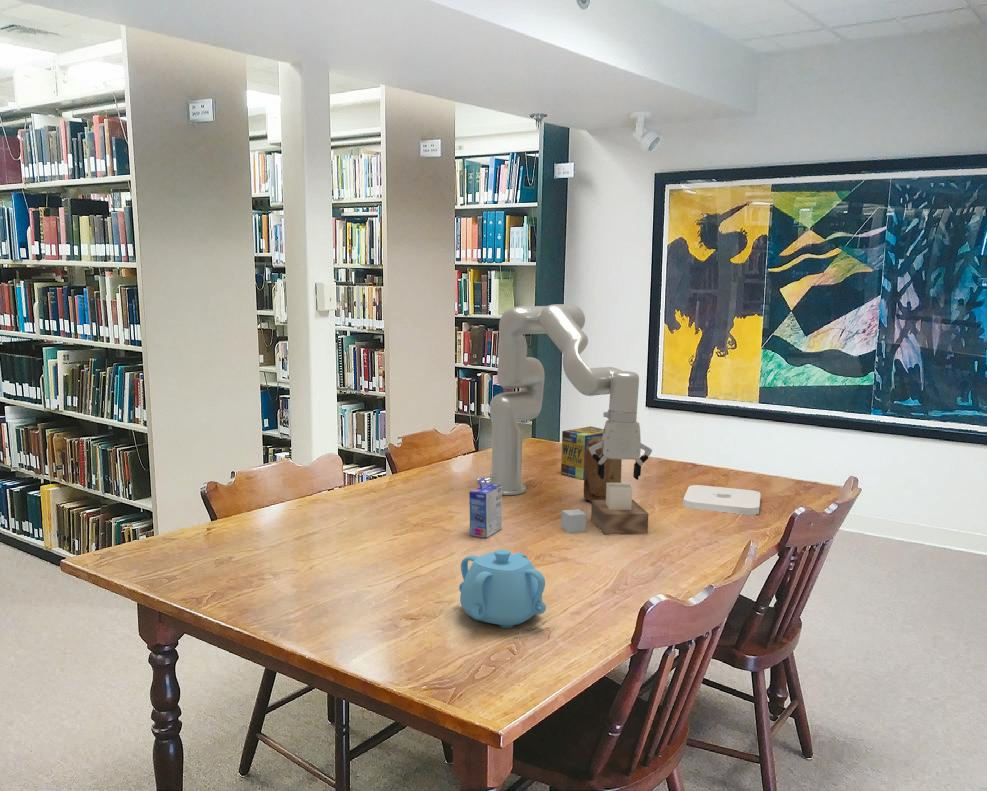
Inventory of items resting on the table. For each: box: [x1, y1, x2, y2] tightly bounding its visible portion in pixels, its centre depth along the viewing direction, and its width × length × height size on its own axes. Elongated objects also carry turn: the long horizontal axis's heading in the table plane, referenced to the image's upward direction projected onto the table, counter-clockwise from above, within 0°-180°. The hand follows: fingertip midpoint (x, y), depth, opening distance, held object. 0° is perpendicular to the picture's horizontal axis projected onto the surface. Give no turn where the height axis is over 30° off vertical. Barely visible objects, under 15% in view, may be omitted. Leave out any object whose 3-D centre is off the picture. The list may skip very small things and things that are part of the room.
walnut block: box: [590, 499, 649, 536], centre depth 226 cm, size 12×14×6 cm
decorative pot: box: [458, 548, 547, 629], centre depth 164 cm, size 16×16×14 cm
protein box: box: [560, 425, 604, 481], centre depth 286 cm, size 10×15×16 cm
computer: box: [682, 484, 762, 516], centre depth 253 cm, size 22×22×3 cm
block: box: [583, 436, 623, 503], centre depth 250 cm, size 11×8×20 cm
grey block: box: [560, 508, 587, 534], centre depth 223 cm, size 5×5×5 cm
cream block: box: [606, 482, 633, 510], centre depth 226 cm, size 6×6×6 cm
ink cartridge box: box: [469, 476, 503, 539], centre depth 218 cm, size 10×6×14 cm, turn 155°
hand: (618, 478), depth 225 cm, fingers open, 9 cm apart
